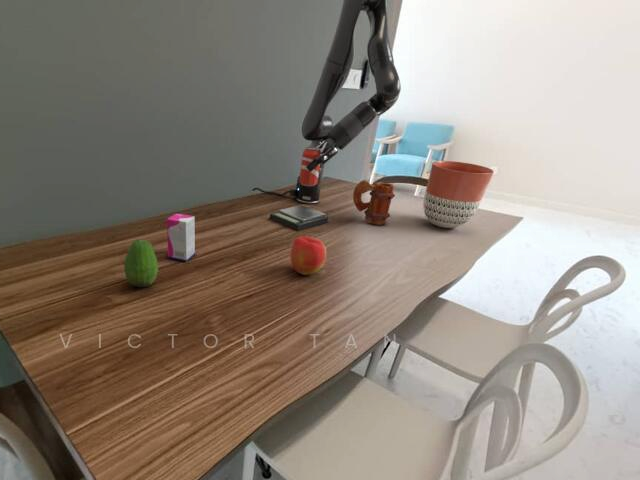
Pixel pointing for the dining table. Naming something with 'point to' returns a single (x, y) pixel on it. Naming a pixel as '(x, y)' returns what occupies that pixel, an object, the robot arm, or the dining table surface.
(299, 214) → the scale pan
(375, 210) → the mug
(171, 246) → the supplement box
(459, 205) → the planter
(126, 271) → the avocado
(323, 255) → the apple
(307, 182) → the beverage can
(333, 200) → the dining table surface
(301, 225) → the scale
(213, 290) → the dining table surface
